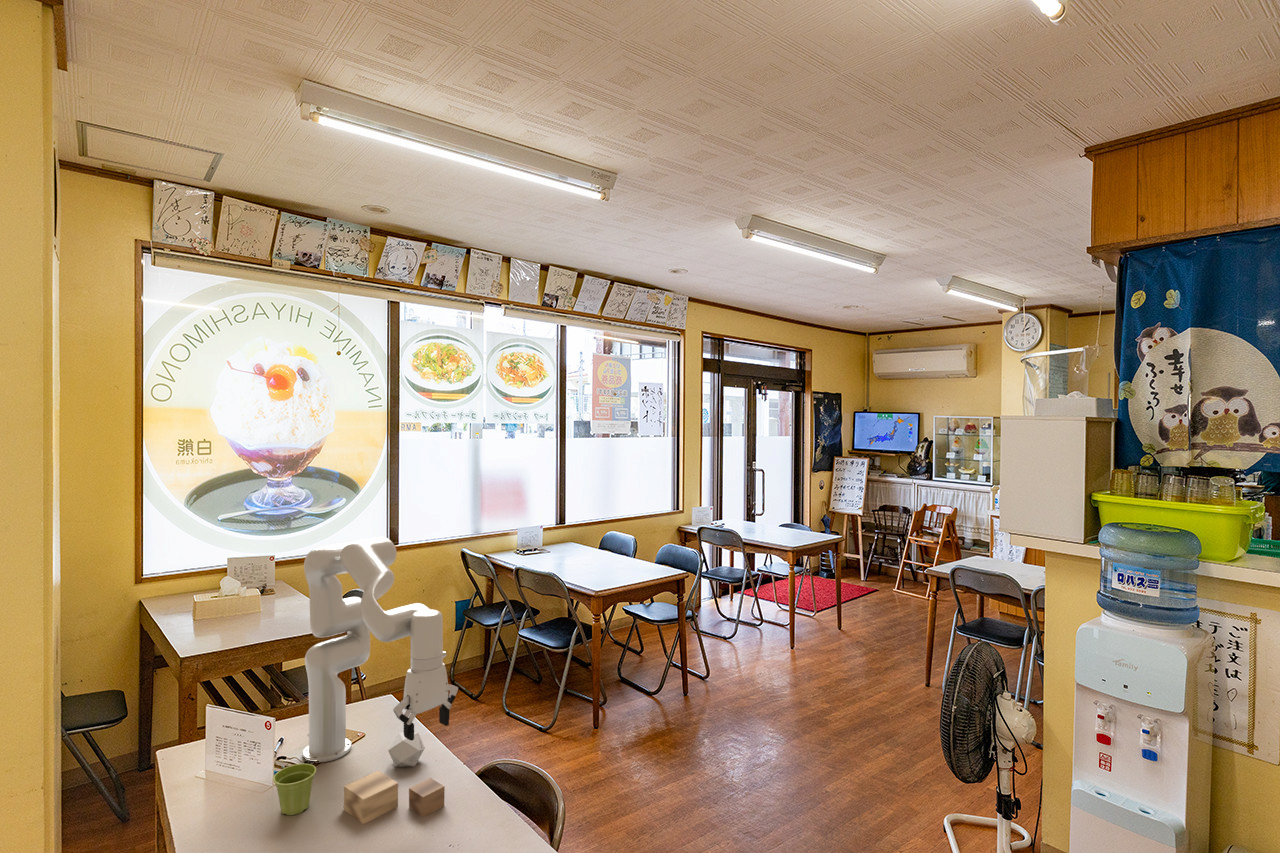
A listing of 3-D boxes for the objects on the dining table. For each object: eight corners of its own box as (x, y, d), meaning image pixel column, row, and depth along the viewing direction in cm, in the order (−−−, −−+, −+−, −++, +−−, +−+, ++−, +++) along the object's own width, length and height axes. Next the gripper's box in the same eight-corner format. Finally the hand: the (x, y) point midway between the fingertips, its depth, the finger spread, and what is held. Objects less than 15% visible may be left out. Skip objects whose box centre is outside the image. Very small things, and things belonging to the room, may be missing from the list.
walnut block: (409, 808, 162) (409, 788, 162) (430, 797, 167) (430, 777, 167) (422, 817, 158) (423, 797, 158) (444, 806, 163) (444, 786, 163)
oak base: (343, 810, 161) (344, 786, 161) (378, 794, 168) (378, 770, 168) (363, 824, 155) (363, 799, 155) (398, 807, 163) (398, 783, 162)
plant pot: (272, 824, 155) (272, 787, 155) (273, 803, 163) (273, 768, 163) (316, 813, 159) (316, 778, 159) (315, 793, 168) (315, 759, 168)
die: (403, 778, 176) (426, 743, 179) (376, 758, 178) (400, 724, 181) (412, 773, 184) (435, 740, 187) (387, 754, 186) (410, 721, 189)
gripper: (448, 649, 171) (448, 714, 171) (385, 668, 157) (386, 739, 158) (465, 655, 166) (465, 723, 166) (403, 676, 153) (403, 749, 153)
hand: (427, 731), depth 162 cm, fingers open, 9 cm apart
